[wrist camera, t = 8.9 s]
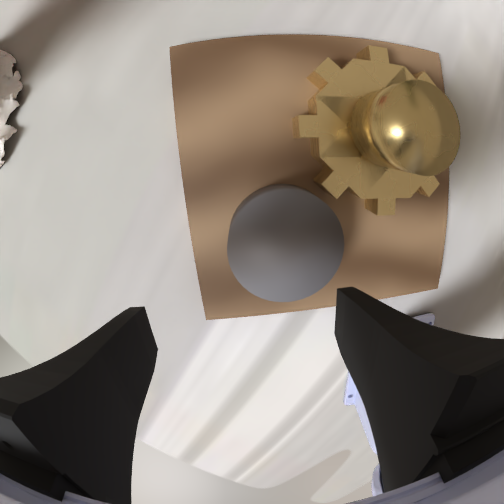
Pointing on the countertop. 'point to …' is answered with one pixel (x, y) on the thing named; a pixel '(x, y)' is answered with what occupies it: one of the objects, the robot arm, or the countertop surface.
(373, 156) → the brass gear
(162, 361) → the countertop surface
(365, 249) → the carrier plate
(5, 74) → the white paper bag
